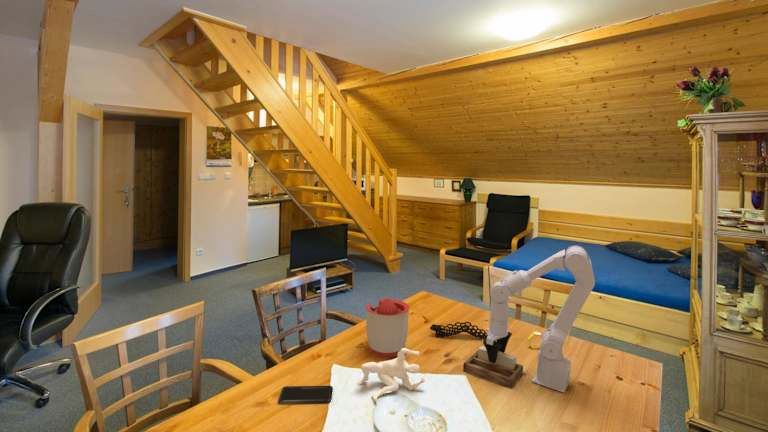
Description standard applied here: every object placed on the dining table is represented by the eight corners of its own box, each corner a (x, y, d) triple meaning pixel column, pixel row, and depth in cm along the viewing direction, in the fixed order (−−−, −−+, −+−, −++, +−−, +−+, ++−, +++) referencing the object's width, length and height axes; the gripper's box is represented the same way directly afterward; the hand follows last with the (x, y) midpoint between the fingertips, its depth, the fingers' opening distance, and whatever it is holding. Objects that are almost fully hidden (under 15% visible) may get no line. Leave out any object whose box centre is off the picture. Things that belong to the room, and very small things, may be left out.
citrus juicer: (383, 335, 156) (384, 286, 153) (417, 351, 143) (418, 298, 141) (353, 348, 145) (353, 296, 142) (386, 366, 132) (388, 309, 130)
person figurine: (365, 368, 110) (418, 345, 118) (349, 357, 122) (398, 336, 130) (376, 413, 111) (429, 386, 119) (359, 398, 122) (408, 374, 130)
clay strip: (515, 370, 129) (516, 356, 128) (512, 374, 127) (513, 359, 126) (480, 359, 136) (481, 345, 136) (477, 362, 134) (478, 348, 134)
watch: (542, 347, 149) (544, 332, 148) (544, 350, 146) (547, 335, 145) (526, 345, 149) (528, 330, 148) (528, 348, 146) (530, 333, 146)
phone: (331, 401, 112) (277, 401, 111) (331, 404, 112) (277, 405, 111) (333, 385, 120) (283, 386, 119) (333, 388, 120) (283, 389, 119)
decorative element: (485, 335, 158) (486, 321, 157) (488, 341, 153) (489, 327, 152) (429, 333, 159) (430, 319, 159) (430, 338, 154) (430, 324, 154)
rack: (522, 373, 130) (523, 365, 129) (511, 388, 121) (511, 380, 120) (477, 358, 139) (477, 350, 139) (463, 371, 130) (463, 363, 130)
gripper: (495, 309, 138) (493, 345, 139) (478, 322, 126) (476, 362, 128) (515, 313, 133) (513, 351, 135) (499, 328, 122) (497, 369, 124)
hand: (496, 357), depth 131 cm, fingers open, 7 cm apart
